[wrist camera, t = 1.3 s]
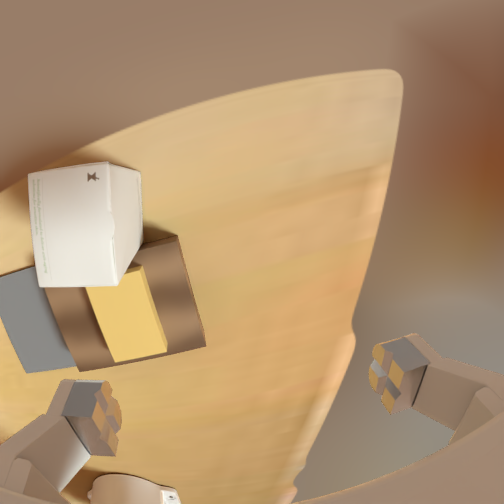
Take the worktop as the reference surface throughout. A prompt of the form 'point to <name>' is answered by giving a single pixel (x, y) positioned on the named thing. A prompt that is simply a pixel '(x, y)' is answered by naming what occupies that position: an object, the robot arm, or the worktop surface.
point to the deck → (164, 297)
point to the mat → (32, 323)
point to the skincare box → (85, 223)
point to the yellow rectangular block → (128, 317)
